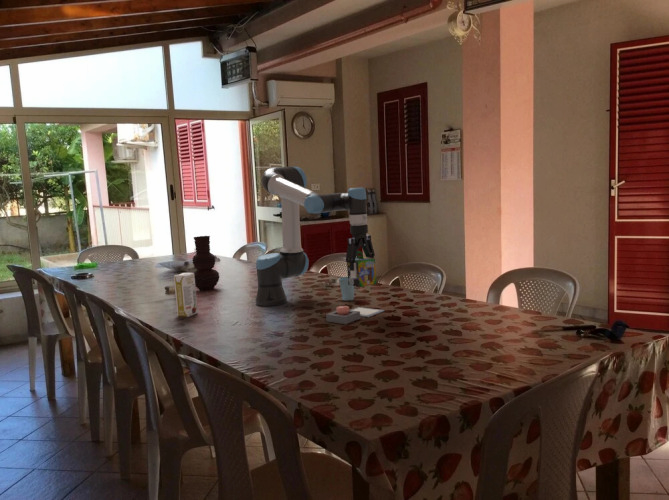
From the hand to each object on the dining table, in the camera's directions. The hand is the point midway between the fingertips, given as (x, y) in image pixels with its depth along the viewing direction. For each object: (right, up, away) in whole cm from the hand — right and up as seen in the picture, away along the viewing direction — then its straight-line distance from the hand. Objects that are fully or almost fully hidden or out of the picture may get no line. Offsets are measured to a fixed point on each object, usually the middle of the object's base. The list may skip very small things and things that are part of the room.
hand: (361, 275), depth 246 cm
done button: (-8, -15, -9) cm, 19 cm away
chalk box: (0, -4, +1) cm, 4 cm away
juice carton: (-79, -19, +17) cm, 83 cm away
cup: (-5, -13, +30) cm, 33 cm away
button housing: (-8, -18, -9) cm, 21 cm away
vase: (-83, -12, +73) cm, 111 cm away
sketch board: (+1, -16, +2) cm, 16 cm away
